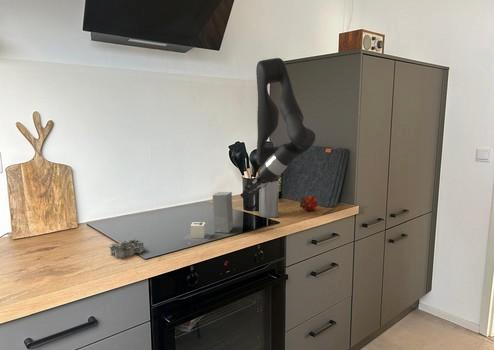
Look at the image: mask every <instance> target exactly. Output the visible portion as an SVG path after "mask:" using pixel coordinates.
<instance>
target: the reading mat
mask: <svg viewBox="0 0 494 350" xmlns="http://www.w3.org/2000/svg"><path fill="white" fill-rule="evenodd" d="M214 234H215V232H205V237H204V238H191V231H189V233H187V234H186V235H185V236H184V237H183V238H182V239H181V240H183V241H196V242H197V241H198V242H207V241H208V240H209V239H210V238H211V237H212V236H213V235H214Z"/></svg>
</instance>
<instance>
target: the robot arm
mask: <svg viewBox="0 0 494 350" xmlns="http://www.w3.org/2000/svg"><path fill="white" fill-rule="evenodd" d="M255 73H256V86H257V88H256V89H257V111H256V112H257V113H256V115H257V117H256V118H257V124H256V125H257V127H256V128H257V142H256V143H257V144H256V164H257V165H258V166H260V167H259V168H258V173H259V175H257V176H255V177H253V178H252V179H251V180H250V181H249V182H248V183H247V184H245V186H244V190H243V191H242V192H241V194H239V195H240V197H241V198H242V199H243V200H244V199H246V198H247V197H248V196H249V195H252V196H255V195H256V194H257V193H258V216H259V217H262V218H269V219H270V218H277V217H278V216H279V190H280V189H279V183H280V182H279V180H280V179H279V177H280V176H281V174H282V173H284V171H285V170H286V169H287V168H288V166H290V164H291V163H292V162H293V161H294V160H295V159H296V158H297V157H299V156H300V155H302V154H303V153H305V152H306V151H308V150H309V149H310V148H311V147H312V146H313V145H314V144H315V141H316V133H315V132H314V130H312V129H310V128H308V127H306V126H305V125H304V123H303V121H304V119H305V117H304V114H303V112H302V110H301V108H300V105H299V104H298V101H297V99H296V96H295V93H294V90H293V85H292V82H291V79H290V75H289V72H288V69H287V66H286V64H285V62H284V60H283V59H282V58H280V57H275V58H269V59H268V58H267V59H262V60H259V61H258V62H257V64H256V72H255ZM275 83H279V84H280V86H281V94H280V98H279V103H278V105H279V108H278V105H277V104H276V103H275V101H274V100H273V98H272V97H271V95H270V93H269V91H268V85H269V84H275ZM279 110H280V111H279ZM280 114H281V115H282V118H283V120H284V122H285V126H286V131H287V136H288V138H289V140H290V142H289V143H288V142H287V143H283V144H282V145H280V146H279V147H278V146H267V145H266V143H267V141H268V140H269V138H271V136H272V135H273V133H274V132H275V131H276V130H277V127H278V126H279V118H280ZM265 145H266V146H265Z"/></svg>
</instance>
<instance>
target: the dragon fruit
mask: <svg viewBox="0 0 494 350" xmlns="http://www.w3.org/2000/svg"><path fill="white" fill-rule="evenodd" d="M299 205H300V208H302V209H303V210H304V211H305V212H308V211H312V212H313V211H315V210H316V208H317V207H318V205H319V203H318V199H317V197H315V196H314V195H305V196H302V197H301V198H300V201H299ZM306 210H307V211H306Z"/></svg>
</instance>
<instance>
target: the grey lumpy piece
mask: <svg viewBox="0 0 494 350" xmlns="http://www.w3.org/2000/svg"><path fill="white" fill-rule="evenodd" d="M145 246H146V244H145V243H144V242H143V241H141V240H140V239H138V238H137V237H135V238H133V239H129V240H124V241H121V242H119V243H112V244H110V245H109V246H108V249H110V255H111V256H114V257H115V258H116V259H123V258H125V257H126V256H134V254H138V253H139V254H141V252H142V253H143V252H145V250H144V247H145Z"/></svg>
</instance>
